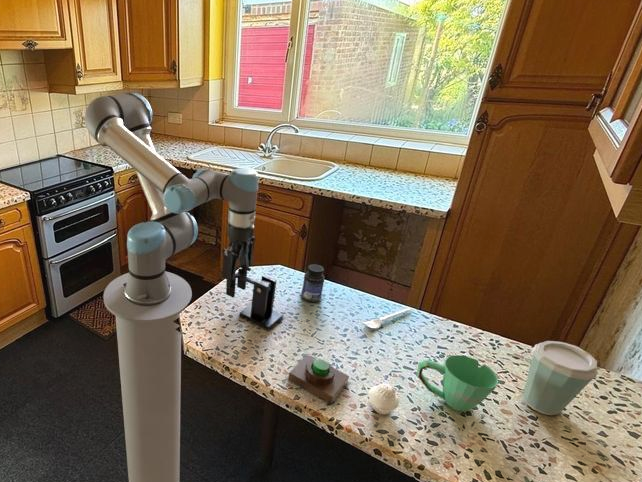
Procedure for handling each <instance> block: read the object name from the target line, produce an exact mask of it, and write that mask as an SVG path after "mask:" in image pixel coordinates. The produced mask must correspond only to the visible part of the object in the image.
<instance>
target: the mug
mask: <svg viewBox="0 0 642 482" xmlns="http://www.w3.org/2000/svg"><path fill="white" fill-rule="evenodd" d="M424 369H431V370H435V371H437V372H439V373H441V374H443V377H442V389H440V388H438V387H437V386H435V385H433V384H432V383H430V382H429V380H428V379H427V378H426V377H425V375H424V373H423V371H424ZM416 376H417V378H418V379H419V380H420V381H421V383H422V385H424V387H425V388H426V390H427V391H429V392H430V393H432V394H434V395H435V396H437V397H439V398H440V399H442V400H443V401H444V402H445V404H446V405H447V406H448V407H450V408H451V409H452V410H454V411H456V412H461V413H467V412H468V411H470V410H472V409H474V408H476V407H477V406H479V404H481V403H482V402H483V401H485V400H486V398H488V396H489V395H491V393H492V392H493V391H495V390H496V388H497V386H498V385H499V384H500V383H499V377H498V375H497V374H496V372H495V371H494V370H493V369H492V368H491V367H489V366H488V365H486V364H483V365H481V366H479V360H478V359H475V358H473V357H469V356H467V355H466V356H465V355H458V354H457V355H451V356H448V357H446V359H445V360H444V363H443V364H441V363H439V362H436V361H434V360H430V359H424V360H421V361H419V362H418V363H417V371H416Z"/></svg>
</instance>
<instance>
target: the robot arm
mask: <svg viewBox="0 0 642 482" xmlns="http://www.w3.org/2000/svg"><path fill="white" fill-rule="evenodd" d="M152 121H153V109H152V106H151V104H150V103H149V101H148V99H147V98H145V96H143V95H141V94H140V93H137V92H124V93H120V94H111V95H102V96H98V97H96V98H94V99H92V101H90V102H89V103H88V105H87V107H86V109H85V113H84V123H85V127H86V130H87V131H88V134H89V135H90V136H91V137H92V138H93V140H94V141H96V143H98V145H100V146H102V147H108V148H109V149H110V150H111V151H113V152H114V154H116V155H117V156H118V157H120V159H122V160H123V161H124V162H125V163H127V164H128V165H129V166H130V167H131V168H132V169H133V170H134V171H135V174H136V176H137V178H138V182H139V184H140V186H141V189H142V191H143V193H144V196H145V198H146V200H147V204H148V206H149V208H150V211H151V217H150V219H149V220H150V221H146V222H144V221H142V222H139V223H137V224H135V225H133V226H132V227H131V228H130V229H129V230H128V232H127V235H126V249H127V262H128V273H129V275H128V279H127V283H124V284H123V285H124V286H125V289H124V291H125V297H126V299H127V300H128V301H130V302H131V303H133V304H136V305H140V306H153V305H157V304H160V303H163V302H164V301H166V300H167V299H168V298H169V297H170V295H171V286H170V283H169V280H168V277H167V275H166V272H167V271H166V260H167V259H169V258H170V257H172V256H174V255H177V254H178V253H179V252H181V251H183V250H186V249H188V248H189V247H190V246H191V245H193V244H194V243H195V241H196V240H197V237H198V235H199V234H198V233H199V227H198V223H197V221H196V219H195V217H194V216H193V215H192V214H190V213H189V212H190V211H191V210H193V209H195V208H196V207H198V206H200V205H202V204H204V203H205V204H206V203H207V202H209V201H211V200H213V199H218V200H221V201H225V202H228V213H227V222H228V223H227V234H226V235H227V236H228V238H229V243H228V247H227V248H223V249H222V250H221V251H222V252H221V253H222V269H221V270H222V271H221V278H223V279H224V280H226V282H225V288H226V289H225V295H226V296H229V297H230V298H235V296H236V288H238V289H241V290H243V291H245V290H246V287H247V282H246V281H243V280H240V279H238V278H234V277H235V274H236V273H238V272H239V271H242V272H243V274H242V275H243V276H246V277H248V272H251V270H252V268H251V267H252V266H253V261H254V249H255V242H256V237H255V236H254V233H255V225H254V224H255V222H256V221H255V220H256V212H257V211H256V210H257V200H258V190H259V173H258V172H257V171H256V170H255V169H252V168H243V167H240V168H235V169H233V170H232V171H231V172H230V173H226V172H222V171H218V170H214V169H211V168H199V169H198V170H196V172H195V173H193V175H192V178H188V177H186V175H184V174H183V173H182V172H180V171H179V170H178V169H177V168H176V167H174V166H173V165H172V164H171V163H170V162H168V161H167V160H166V159H165V158H164V157H162V155H159V153H157V151H156V149H155V146H154V144H153V141H152V138H151V137H150V134H151V131H152V126H151V123H152ZM238 263H239V267H240V268H238V270H237V267H238ZM165 271H166V272H165Z"/></svg>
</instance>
